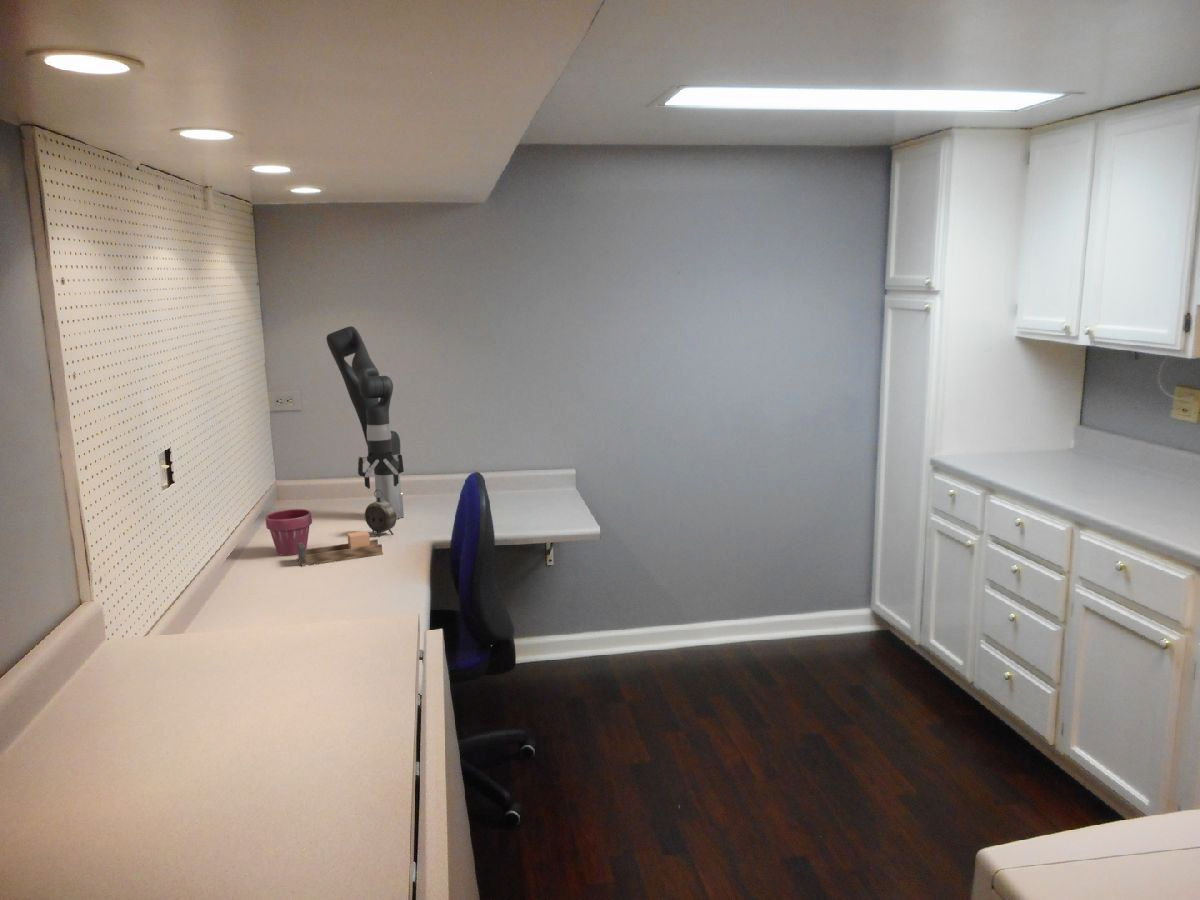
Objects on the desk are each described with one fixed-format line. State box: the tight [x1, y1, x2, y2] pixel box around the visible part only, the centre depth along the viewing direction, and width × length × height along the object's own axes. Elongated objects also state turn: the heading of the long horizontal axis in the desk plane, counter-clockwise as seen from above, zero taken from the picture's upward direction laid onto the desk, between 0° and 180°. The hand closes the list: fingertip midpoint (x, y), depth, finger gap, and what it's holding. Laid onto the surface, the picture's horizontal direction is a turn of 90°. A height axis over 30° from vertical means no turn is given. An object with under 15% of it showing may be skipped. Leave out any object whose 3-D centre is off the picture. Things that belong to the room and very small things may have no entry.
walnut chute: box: [297, 539, 384, 567], centre depth 275 cm, size 25×9×6 cm, turn 116°
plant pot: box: [265, 508, 313, 556], centre depth 281 cm, size 14×14×13 cm
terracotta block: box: [347, 530, 371, 549], centre depth 277 cm, size 6×5×6 cm
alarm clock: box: [364, 489, 397, 537], centre depth 299 cm, size 11×5×16 cm, turn 65°
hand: (381, 487), depth 280 cm, fingers open, 8 cm apart
